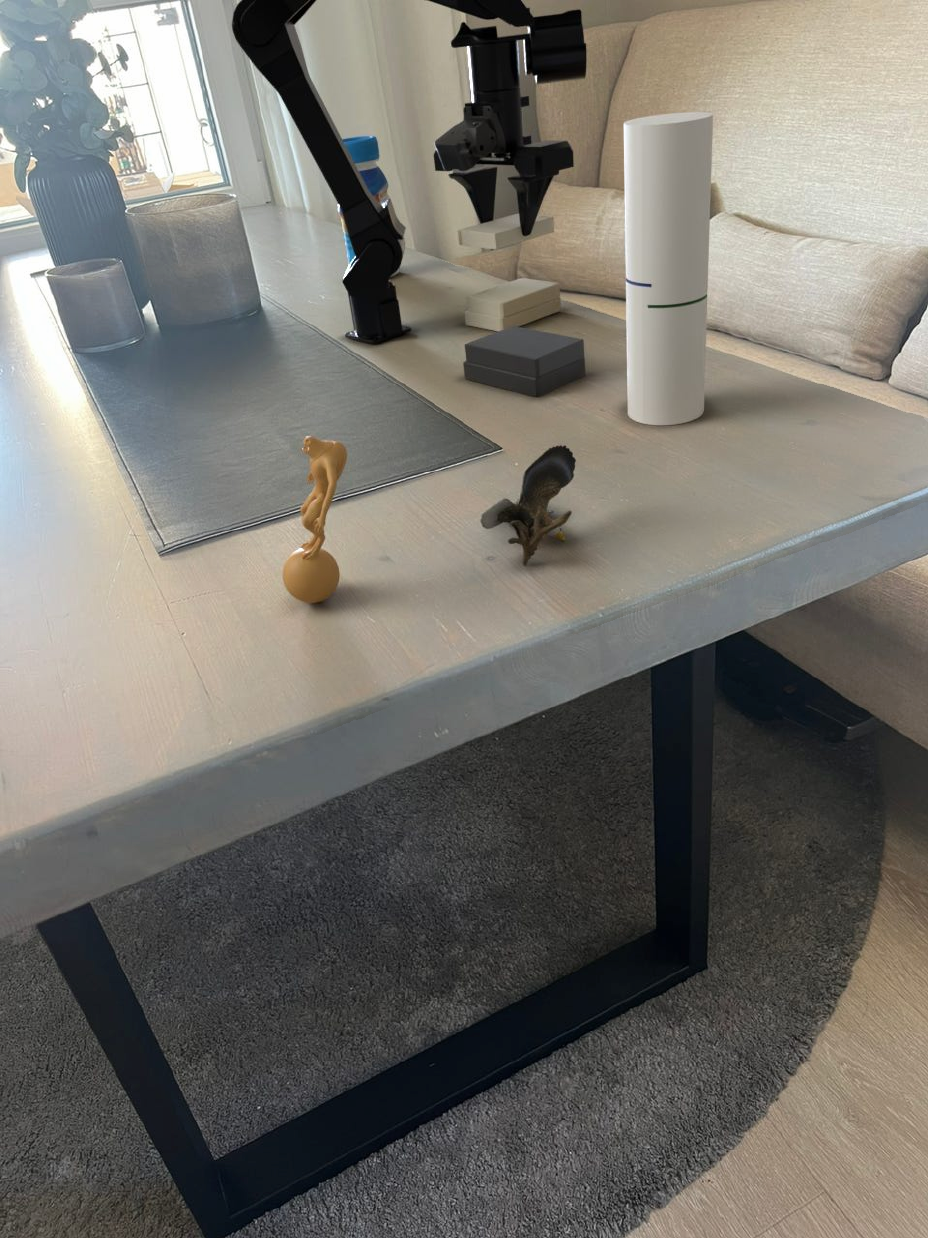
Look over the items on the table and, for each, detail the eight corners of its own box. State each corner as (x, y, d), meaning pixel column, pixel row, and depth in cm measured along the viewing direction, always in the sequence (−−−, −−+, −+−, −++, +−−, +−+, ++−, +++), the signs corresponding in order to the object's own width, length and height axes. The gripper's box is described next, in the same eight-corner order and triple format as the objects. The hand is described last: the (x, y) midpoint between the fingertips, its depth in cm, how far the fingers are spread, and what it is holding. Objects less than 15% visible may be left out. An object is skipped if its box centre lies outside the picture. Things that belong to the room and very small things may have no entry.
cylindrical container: (656, 393, 94) (657, 112, 81) (718, 405, 90) (730, 110, 76) (612, 416, 90) (605, 125, 77) (674, 430, 86) (679, 124, 72)
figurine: (285, 576, 70) (249, 424, 64) (364, 561, 71) (336, 409, 65) (292, 634, 63) (252, 471, 57) (379, 616, 64) (349, 453, 58)
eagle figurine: (604, 549, 66) (599, 475, 73) (544, 483, 63) (544, 411, 69) (519, 597, 70) (521, 522, 76) (457, 537, 66) (464, 464, 73)
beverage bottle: (372, 268, 157) (352, 135, 147) (411, 270, 153) (393, 133, 142) (338, 280, 152) (315, 143, 141) (378, 283, 147) (357, 142, 137)
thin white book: (517, 228, 121) (516, 213, 120) (554, 231, 117) (553, 216, 116) (459, 245, 116) (457, 229, 115) (495, 249, 112) (494, 233, 111)
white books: (503, 332, 118) (501, 303, 116) (465, 325, 122) (462, 296, 120) (561, 310, 123) (560, 282, 121) (522, 304, 128) (520, 277, 126)
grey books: (464, 379, 104) (460, 343, 102) (513, 359, 108) (510, 324, 106) (536, 397, 97) (533, 359, 95) (586, 375, 101) (584, 338, 99)
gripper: (391, 100, 110) (409, 241, 118) (500, 97, 97) (512, 254, 106) (462, 88, 116) (474, 223, 124) (574, 83, 103) (579, 233, 111)
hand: (506, 233), depth 116 cm, fingers closed on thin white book, 7 cm apart
